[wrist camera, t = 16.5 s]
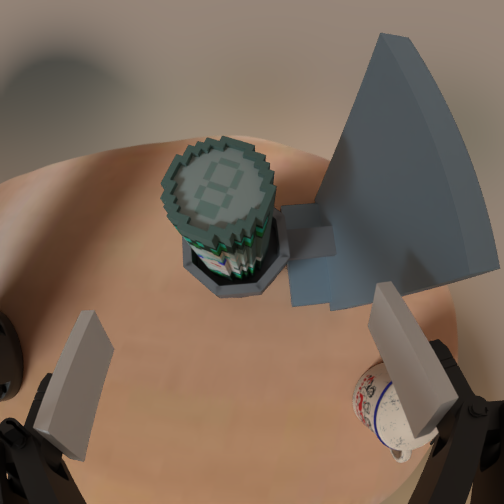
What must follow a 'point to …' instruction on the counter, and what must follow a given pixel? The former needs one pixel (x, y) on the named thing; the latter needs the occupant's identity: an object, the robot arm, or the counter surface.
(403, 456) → the teacup with lid
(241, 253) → the can
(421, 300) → the counter surface
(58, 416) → the robot arm
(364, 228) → the cup bracket
